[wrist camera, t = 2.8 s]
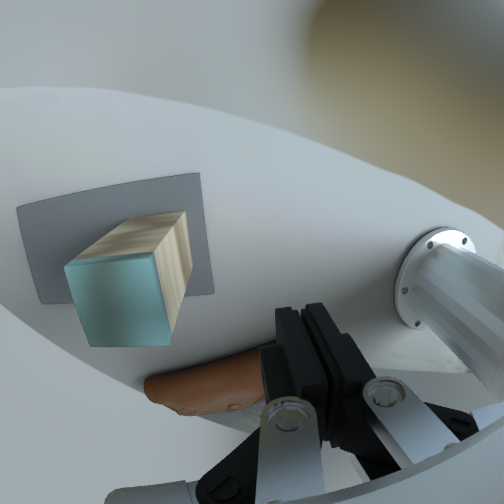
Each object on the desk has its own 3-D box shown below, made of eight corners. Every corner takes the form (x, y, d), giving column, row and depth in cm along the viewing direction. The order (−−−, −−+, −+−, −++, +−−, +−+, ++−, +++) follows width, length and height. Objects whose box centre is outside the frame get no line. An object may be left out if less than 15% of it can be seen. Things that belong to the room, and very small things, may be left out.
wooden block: (185, 210, 25) (148, 258, 13) (193, 265, 26) (169, 345, 15) (130, 217, 24) (63, 266, 13) (140, 270, 26) (90, 346, 15)
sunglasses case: (179, 419, 33) (159, 438, 27) (160, 370, 35) (136, 381, 28) (313, 381, 33) (319, 397, 26) (294, 328, 34) (296, 333, 28)
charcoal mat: (199, 172, 24) (198, 173, 24) (214, 291, 28) (213, 294, 27) (19, 206, 24) (16, 207, 23) (44, 301, 27) (41, 304, 27)
